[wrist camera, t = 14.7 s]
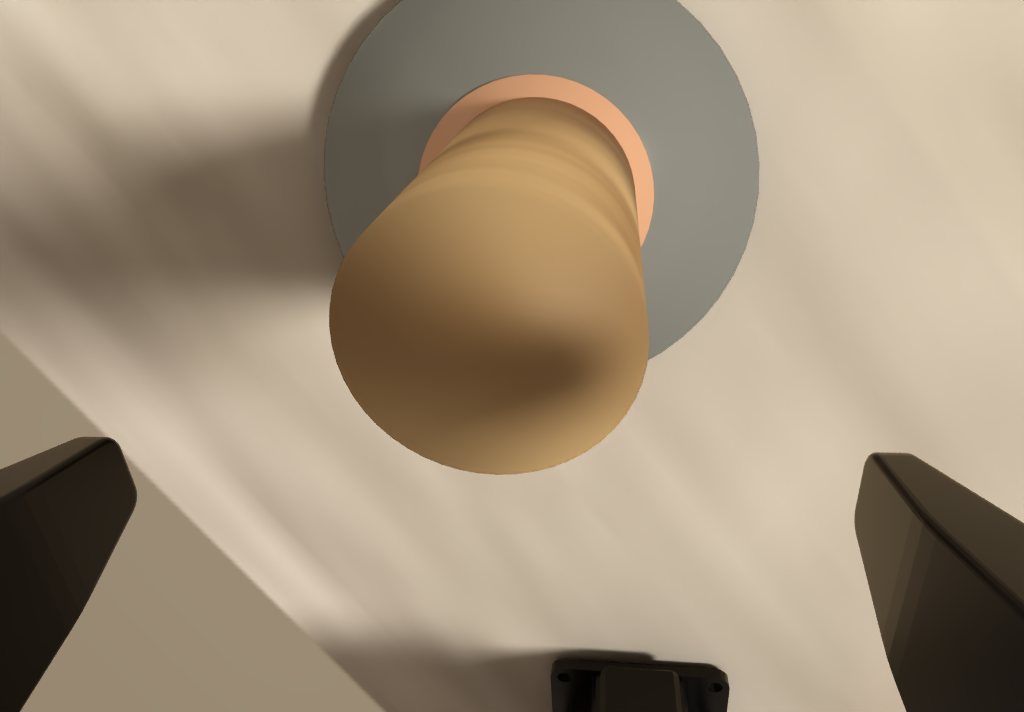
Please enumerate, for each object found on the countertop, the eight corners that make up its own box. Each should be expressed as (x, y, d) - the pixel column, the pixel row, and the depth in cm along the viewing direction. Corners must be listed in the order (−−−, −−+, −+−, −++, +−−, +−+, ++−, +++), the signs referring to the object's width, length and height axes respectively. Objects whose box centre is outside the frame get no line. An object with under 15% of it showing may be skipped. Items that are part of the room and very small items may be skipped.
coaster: (735, 374, 21) (739, 390, 20) (368, 371, 22) (359, 386, 21) (777, -67, 16) (785, -68, 15) (297, -30, 17) (281, -30, 16)
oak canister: (633, 291, 19) (645, 478, 12) (448, 293, 20) (357, 471, 13) (637, 91, 17) (654, 179, 10) (427, 101, 17) (300, 190, 10)
